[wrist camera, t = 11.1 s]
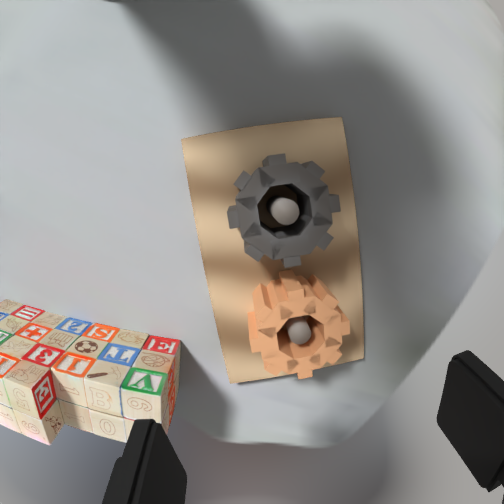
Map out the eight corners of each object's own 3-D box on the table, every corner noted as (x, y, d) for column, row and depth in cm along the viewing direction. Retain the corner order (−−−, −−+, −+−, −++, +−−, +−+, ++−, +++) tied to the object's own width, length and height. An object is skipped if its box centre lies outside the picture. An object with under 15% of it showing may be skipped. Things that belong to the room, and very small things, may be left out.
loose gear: (241, 277, 26) (241, 299, 21) (328, 262, 26) (347, 280, 21) (255, 354, 28) (258, 386, 23) (334, 339, 28) (351, 367, 23)
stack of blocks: (182, 337, 29) (154, 424, 17) (179, 388, 30) (157, 479, 18) (5, 298, 28) (-65, 342, 16) (12, 346, 29) (-46, 399, 17)
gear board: (184, 141, 25) (165, 127, 18) (336, 120, 25) (366, 102, 18) (230, 375, 30) (229, 421, 23) (358, 350, 30) (384, 389, 23)
